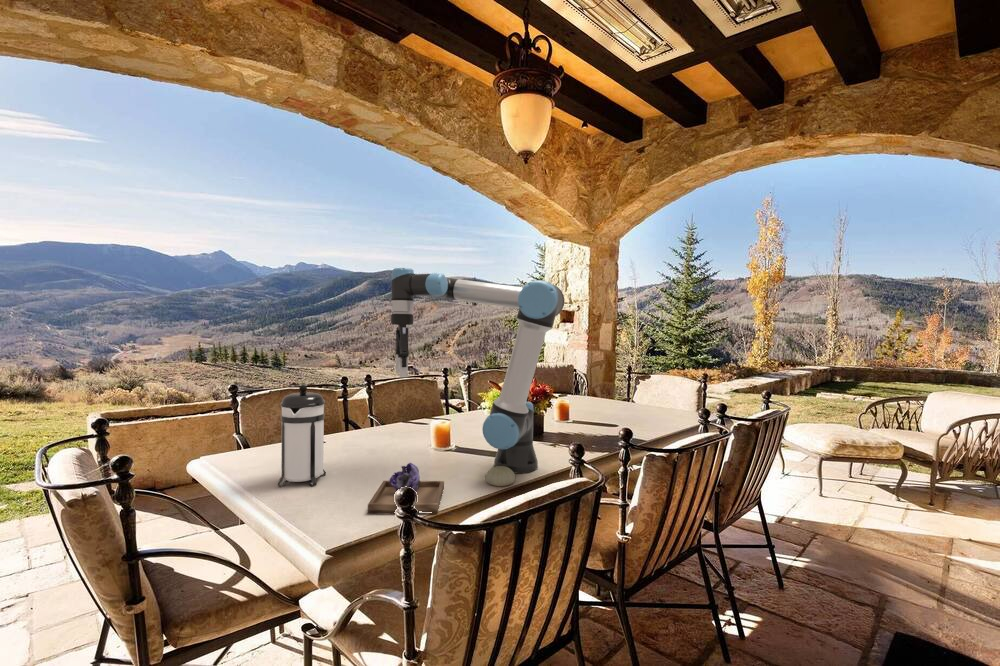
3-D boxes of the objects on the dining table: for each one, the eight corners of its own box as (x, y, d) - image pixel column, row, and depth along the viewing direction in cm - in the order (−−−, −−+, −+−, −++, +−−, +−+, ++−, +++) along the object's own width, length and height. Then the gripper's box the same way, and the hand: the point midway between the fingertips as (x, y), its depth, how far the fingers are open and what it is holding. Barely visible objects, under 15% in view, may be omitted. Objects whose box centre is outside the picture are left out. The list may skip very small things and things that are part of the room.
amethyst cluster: (410, 461, 138) (399, 455, 130) (433, 476, 136) (424, 471, 127) (392, 489, 136) (380, 485, 127) (415, 505, 133) (405, 502, 124)
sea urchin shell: (521, 479, 141) (504, 463, 139) (504, 499, 139) (486, 483, 137) (512, 470, 150) (496, 454, 148) (495, 489, 148) (479, 473, 146)
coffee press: (339, 480, 143) (340, 385, 143) (287, 493, 132) (287, 389, 131) (316, 467, 156) (316, 379, 155) (266, 478, 144) (266, 383, 144)
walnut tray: (443, 489, 137) (444, 480, 137) (437, 514, 119) (437, 504, 119) (383, 488, 136) (383, 480, 136) (367, 513, 119) (367, 504, 118)
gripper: (388, 313, 168) (387, 371, 169) (394, 312, 144) (393, 379, 145) (409, 314, 171) (408, 370, 171) (417, 312, 147) (417, 378, 147)
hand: (401, 374), depth 158 cm, fingers open, 13 cm apart
